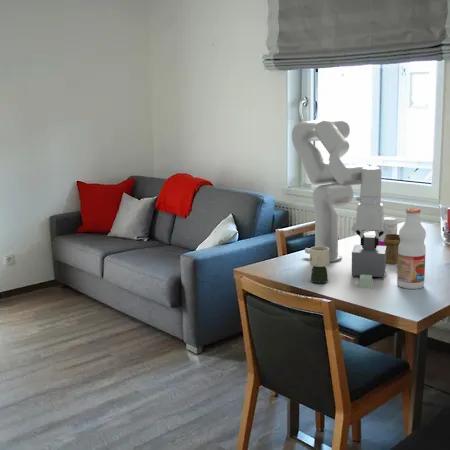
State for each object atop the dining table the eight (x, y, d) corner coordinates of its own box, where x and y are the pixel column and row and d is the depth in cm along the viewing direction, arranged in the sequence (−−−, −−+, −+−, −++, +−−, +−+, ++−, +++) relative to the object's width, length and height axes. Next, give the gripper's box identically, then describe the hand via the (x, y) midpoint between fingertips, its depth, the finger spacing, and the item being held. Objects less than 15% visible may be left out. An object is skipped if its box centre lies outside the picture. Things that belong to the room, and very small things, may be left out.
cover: (351, 275, 229) (352, 239, 226) (354, 266, 240) (355, 232, 237) (384, 277, 226) (385, 240, 223) (385, 268, 237) (386, 233, 234)
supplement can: (375, 253, 262) (376, 219, 259) (378, 249, 269) (379, 216, 266) (395, 255, 259) (396, 220, 256) (397, 250, 266) (398, 217, 263)
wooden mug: (411, 267, 241) (413, 222, 237) (378, 263, 247) (379, 220, 244) (416, 261, 248) (418, 218, 245) (383, 258, 255) (385, 216, 251)
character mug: (314, 277, 231) (314, 244, 229) (332, 278, 228) (332, 245, 226) (305, 285, 222) (305, 251, 219) (324, 287, 219) (325, 252, 216)
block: (359, 288, 217) (359, 277, 216) (360, 284, 221) (360, 274, 220) (371, 289, 216) (371, 278, 215) (371, 285, 219) (372, 275, 219)
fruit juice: (398, 280, 224) (400, 206, 218) (425, 282, 220) (428, 207, 215) (395, 288, 215) (397, 211, 210) (423, 290, 212) (426, 212, 206)
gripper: (346, 201, 226) (346, 248, 230) (393, 202, 221) (391, 251, 225) (349, 198, 233) (348, 244, 237) (393, 199, 228) (392, 246, 232)
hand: (369, 247), depth 231 cm, fingers closed on cover, 3 cm apart
